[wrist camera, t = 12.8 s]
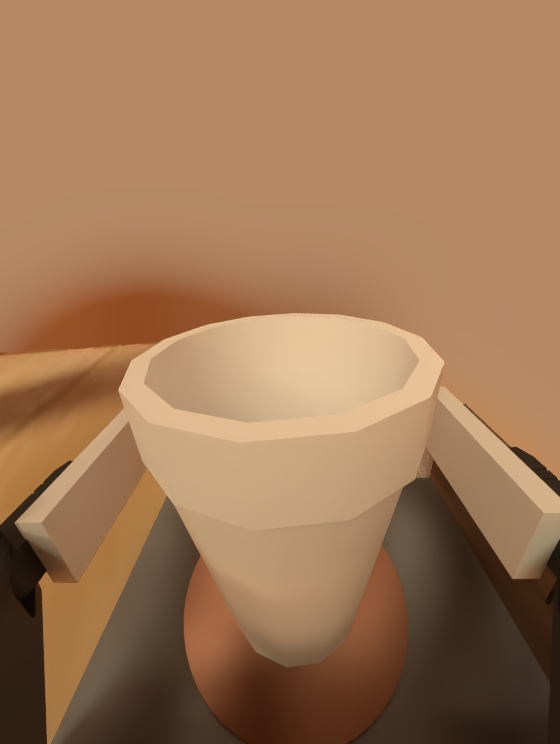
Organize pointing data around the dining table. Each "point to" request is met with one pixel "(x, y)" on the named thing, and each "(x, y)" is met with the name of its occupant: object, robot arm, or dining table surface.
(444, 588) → the wooden-edged grey tray
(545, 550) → the robot arm
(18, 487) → the dining table surface
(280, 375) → the foam cup
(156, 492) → the dining table surface
